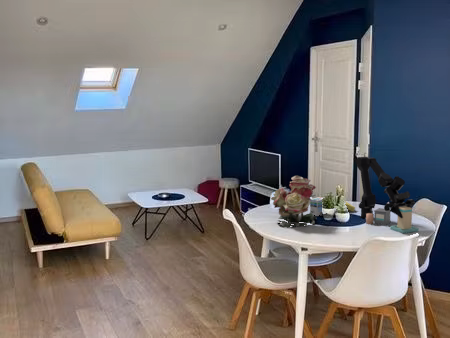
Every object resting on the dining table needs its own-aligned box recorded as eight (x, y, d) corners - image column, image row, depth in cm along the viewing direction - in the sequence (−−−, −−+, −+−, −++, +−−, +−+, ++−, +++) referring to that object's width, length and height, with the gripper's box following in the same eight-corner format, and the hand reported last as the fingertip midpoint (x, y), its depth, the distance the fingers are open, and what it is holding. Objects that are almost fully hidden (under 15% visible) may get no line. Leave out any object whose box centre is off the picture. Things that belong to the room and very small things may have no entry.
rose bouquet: (270, 218, 327) (269, 173, 323) (315, 217, 326) (315, 172, 322) (273, 228, 302) (272, 179, 298) (322, 228, 301) (322, 178, 297)
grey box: (373, 223, 308) (374, 210, 307) (378, 220, 315) (379, 208, 314) (386, 225, 304) (386, 212, 302) (390, 222, 310) (391, 209, 309)
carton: (397, 227, 293) (397, 207, 292) (404, 226, 295) (405, 206, 294) (403, 229, 288) (404, 209, 286) (411, 228, 290) (412, 208, 288)
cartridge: (364, 223, 309) (365, 214, 308) (367, 222, 312) (367, 212, 311) (371, 224, 306) (372, 215, 305) (374, 223, 309) (374, 213, 309)
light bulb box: (317, 216, 330) (317, 200, 329) (309, 214, 335) (309, 199, 334) (327, 213, 337) (327, 198, 335) (319, 212, 342) (319, 196, 341)
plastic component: (356, 208, 341) (344, 203, 338) (351, 218, 342) (339, 212, 339) (344, 200, 360) (332, 195, 357) (339, 209, 361) (328, 204, 358)
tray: (390, 229, 295) (390, 226, 295) (405, 227, 299) (405, 224, 299) (403, 233, 285) (403, 230, 285) (418, 231, 289) (418, 228, 289)
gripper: (387, 188, 289) (400, 211, 280) (413, 185, 295) (426, 207, 287) (378, 199, 297) (390, 221, 289) (403, 196, 304) (416, 218, 295)
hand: (406, 217), depth 290 cm, fingers closed on carton, 5 cm apart
